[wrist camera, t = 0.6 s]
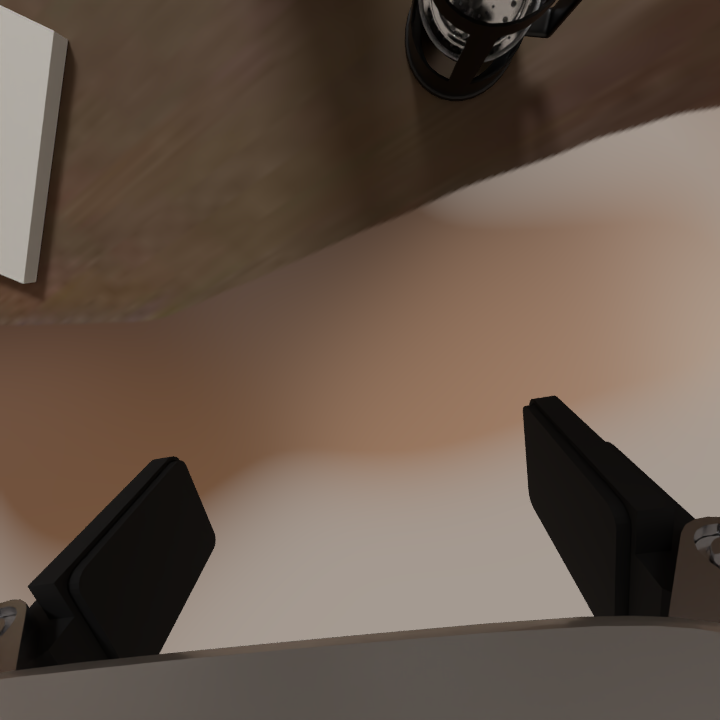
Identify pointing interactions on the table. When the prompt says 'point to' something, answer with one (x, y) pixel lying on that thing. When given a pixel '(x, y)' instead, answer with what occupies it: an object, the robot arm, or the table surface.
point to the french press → (476, 39)
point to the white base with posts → (26, 137)
